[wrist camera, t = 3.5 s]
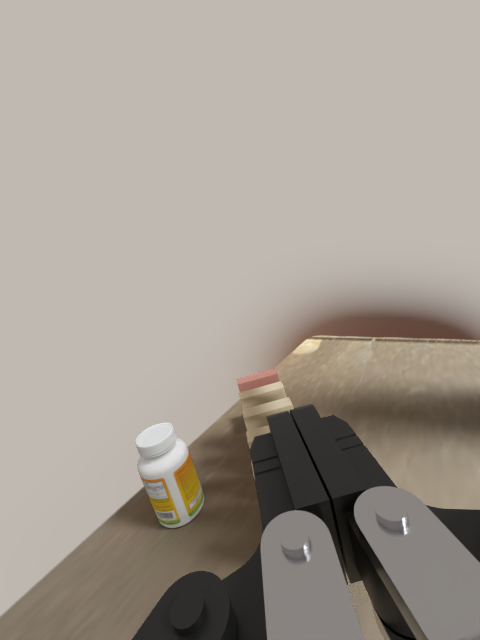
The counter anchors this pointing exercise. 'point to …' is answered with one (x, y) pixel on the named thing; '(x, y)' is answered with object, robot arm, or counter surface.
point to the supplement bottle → (169, 475)
